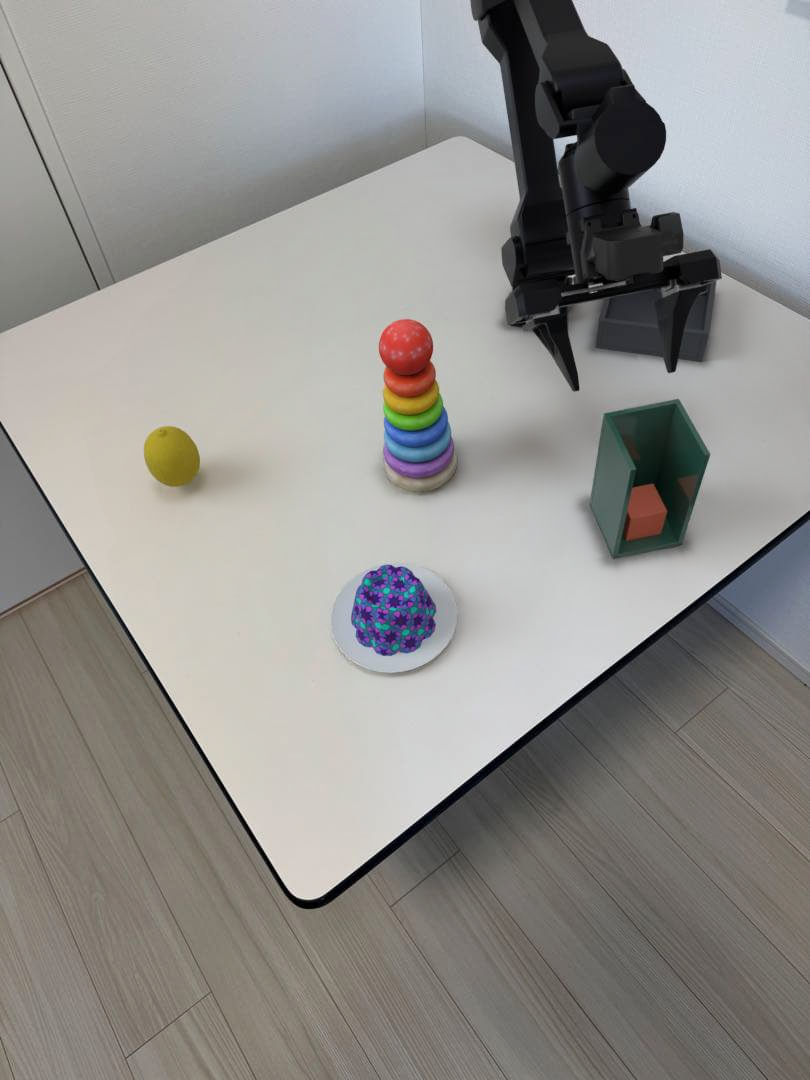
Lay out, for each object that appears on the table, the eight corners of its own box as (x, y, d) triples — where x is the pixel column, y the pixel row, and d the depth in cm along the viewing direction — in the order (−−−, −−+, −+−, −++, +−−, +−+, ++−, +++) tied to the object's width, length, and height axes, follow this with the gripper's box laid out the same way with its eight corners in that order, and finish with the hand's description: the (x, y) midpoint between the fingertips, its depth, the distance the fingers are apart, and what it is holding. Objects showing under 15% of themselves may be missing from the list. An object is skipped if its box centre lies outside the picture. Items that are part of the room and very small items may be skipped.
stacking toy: (466, 447, 89) (461, 306, 74) (445, 502, 85) (435, 364, 70) (399, 434, 92) (381, 294, 77) (374, 487, 87) (350, 349, 72)
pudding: (315, 664, 75) (305, 636, 71) (350, 559, 82) (342, 527, 78) (444, 686, 73) (441, 658, 68) (468, 576, 79) (467, 544, 75)
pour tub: (589, 504, 83) (603, 413, 73) (655, 491, 84) (678, 398, 73) (612, 559, 79) (631, 470, 69) (681, 544, 79) (710, 454, 69)
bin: (595, 347, 97) (598, 320, 94) (611, 285, 104) (615, 258, 101) (701, 361, 94) (708, 334, 91) (710, 296, 101) (718, 269, 98)
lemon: (167, 508, 88) (142, 458, 81) (152, 475, 91) (127, 424, 84) (215, 488, 89) (194, 437, 83) (199, 456, 92) (177, 404, 86)
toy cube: (613, 513, 82) (617, 490, 79) (647, 506, 82) (653, 483, 79) (625, 541, 80) (630, 518, 77) (661, 534, 80) (667, 511, 77)
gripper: (516, 203, 66) (548, 397, 68) (739, 162, 66) (763, 354, 69) (491, 236, 77) (519, 402, 79) (683, 201, 77) (706, 365, 80)
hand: (624, 381), depth 76 cm, fingers open, 9 cm apart
